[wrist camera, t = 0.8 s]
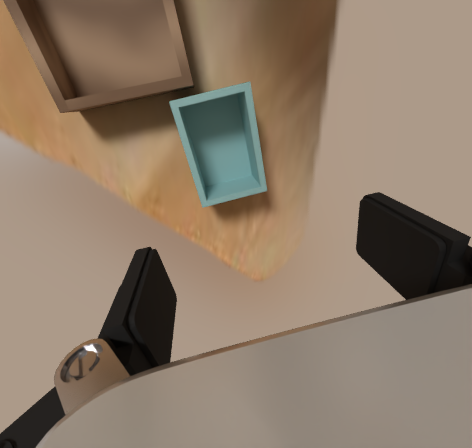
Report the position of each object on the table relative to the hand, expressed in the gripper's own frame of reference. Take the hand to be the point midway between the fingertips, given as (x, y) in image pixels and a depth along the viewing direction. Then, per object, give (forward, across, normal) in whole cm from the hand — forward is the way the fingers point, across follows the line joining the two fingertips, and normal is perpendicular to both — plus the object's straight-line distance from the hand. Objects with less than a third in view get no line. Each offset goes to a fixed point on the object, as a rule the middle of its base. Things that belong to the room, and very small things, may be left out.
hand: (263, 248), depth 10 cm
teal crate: (+19, 0, -2) cm, 19 cm away
